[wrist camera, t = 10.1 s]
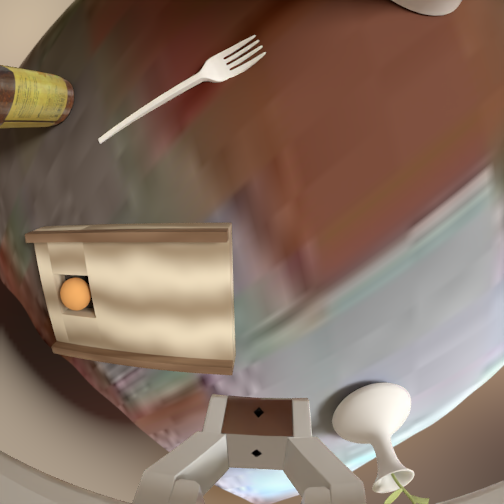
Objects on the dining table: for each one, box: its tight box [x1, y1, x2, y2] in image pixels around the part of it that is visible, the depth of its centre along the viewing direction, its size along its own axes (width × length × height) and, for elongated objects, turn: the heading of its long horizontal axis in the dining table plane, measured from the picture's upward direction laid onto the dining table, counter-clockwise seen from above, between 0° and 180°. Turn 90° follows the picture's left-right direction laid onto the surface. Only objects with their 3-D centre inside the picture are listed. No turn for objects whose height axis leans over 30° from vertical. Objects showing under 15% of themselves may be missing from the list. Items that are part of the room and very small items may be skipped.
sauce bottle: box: [0, 65, 74, 128], centre depth 21 cm, size 7×6×20 cm
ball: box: [60, 277, 91, 311], centre depth 35 cm, size 4×4×4 cm
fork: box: [98, 35, 266, 144], centre depth 29 cm, size 3×20×2 cm, turn 117°
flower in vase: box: [332, 383, 429, 504], centre depth 28 cm, size 13×11×25 cm
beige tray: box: [25, 223, 236, 375], centre depth 34 cm, size 16×24×4 cm, turn 90°
